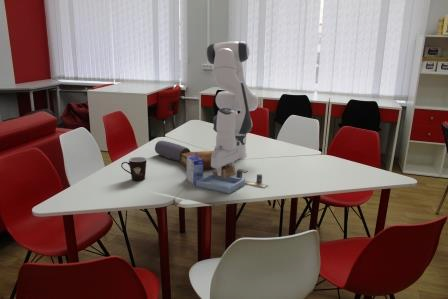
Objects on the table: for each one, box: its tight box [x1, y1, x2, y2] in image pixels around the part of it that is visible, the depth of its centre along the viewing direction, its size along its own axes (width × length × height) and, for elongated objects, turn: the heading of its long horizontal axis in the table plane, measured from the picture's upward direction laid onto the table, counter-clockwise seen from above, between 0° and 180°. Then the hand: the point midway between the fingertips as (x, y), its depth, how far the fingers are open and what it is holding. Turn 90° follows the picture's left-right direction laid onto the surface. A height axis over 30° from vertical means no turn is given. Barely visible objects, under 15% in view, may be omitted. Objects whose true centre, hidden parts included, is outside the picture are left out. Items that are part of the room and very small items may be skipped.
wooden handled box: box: [236, 168, 269, 189], centre depth 187 cm, size 18×9×5 cm, turn 59°
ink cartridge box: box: [186, 151, 204, 186], centre depth 186 cm, size 10×6×14 cm, turn 26°
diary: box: [178, 150, 229, 171], centre depth 211 cm, size 23×19×6 cm
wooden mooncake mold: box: [212, 165, 236, 178], centre depth 180 cm, size 12×7×4 cm, turn 40°
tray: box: [195, 172, 246, 195], centre depth 181 cm, size 18×15×3 cm
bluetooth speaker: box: [154, 140, 191, 162], centre depth 221 cm, size 23×9×10 cm, turn 47°
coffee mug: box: [120, 156, 148, 182], centre depth 189 cm, size 12×9×10 cm
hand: (225, 172), depth 179 cm, fingers closed on wooden mooncake mold, 8 cm apart
